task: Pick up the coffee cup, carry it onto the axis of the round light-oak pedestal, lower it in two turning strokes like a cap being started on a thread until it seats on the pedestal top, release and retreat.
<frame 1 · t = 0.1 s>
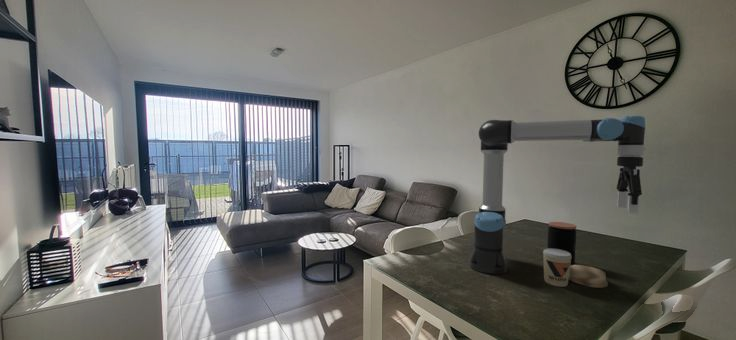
hand: (626, 210, 115), 28 cm above the table, fingers open, 13 cm apart
coffee jar: (560, 263, 133), on the table
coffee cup: (555, 282, 113), on the table
pedestal: (586, 280, 115), on the table
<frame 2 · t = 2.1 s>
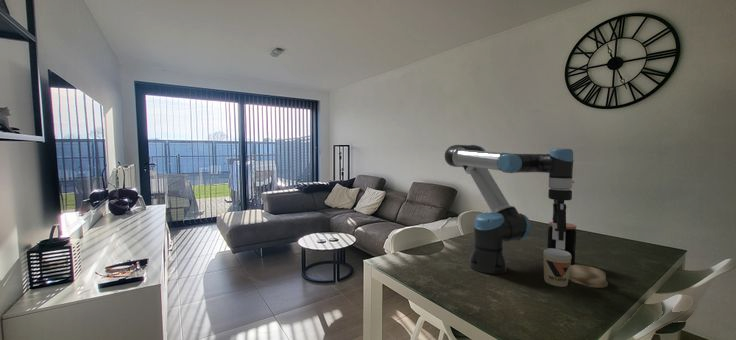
hand: (558, 243, 112), 15 cm above the table, fingers open, 13 cm apart
nothing on the table moved.
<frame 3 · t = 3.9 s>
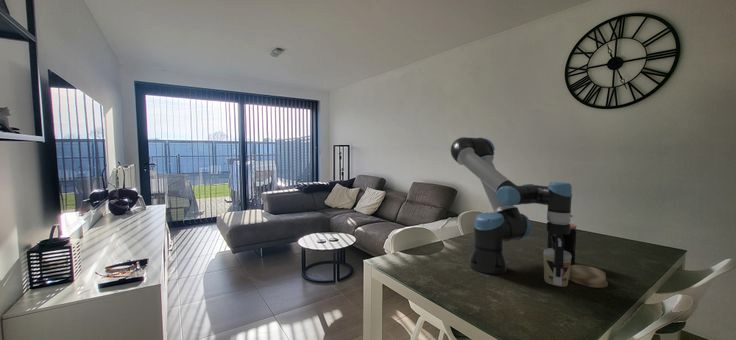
hand: (556, 279, 113), 1 cm above the table, fingers closed on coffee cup, 9 cm apart
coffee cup: (555, 282, 113), on the table, touching gripper
everything else where it was.
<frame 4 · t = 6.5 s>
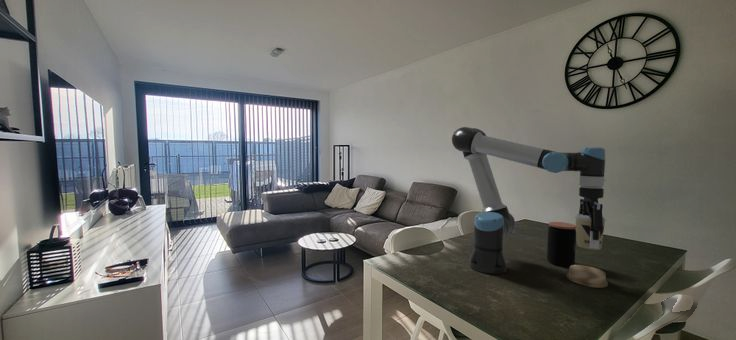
hand: (588, 244, 114), 14 cm above the table, fingers closed on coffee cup, 9 cm apart
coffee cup: (588, 247, 114), point 13 cm above the table, touching gripper
everything else where it was.
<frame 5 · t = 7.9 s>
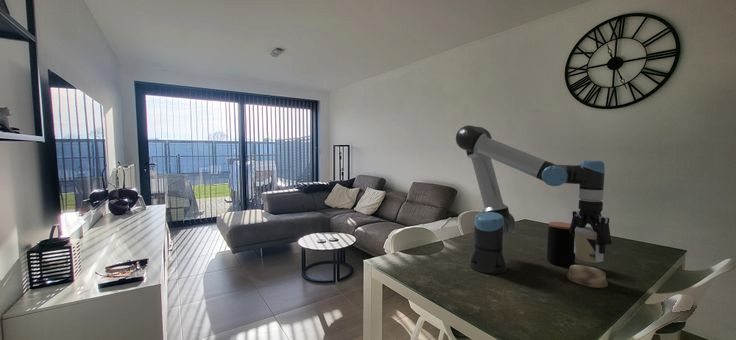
hand: (587, 256, 114), 9 cm above the table, fingers closed on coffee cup, 9 cm apart
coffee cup: (587, 259, 114), point 8 cm above the table, touching gripper
everything else where it was.
when the fingers open (5 cm above the table, at t = 9.2 s): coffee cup stays where it is, resting on pedestal.
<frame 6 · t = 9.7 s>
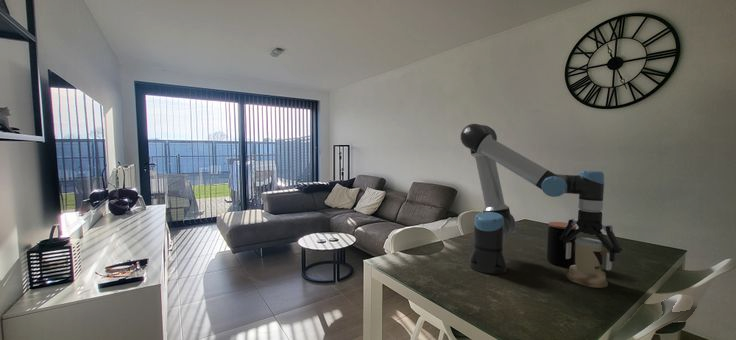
hand: (587, 263, 115), 7 cm above the table, fingers open, 13 cm apart
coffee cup: (588, 271, 114), point 4 cm above the table, touching pedestal
everything else where it was.
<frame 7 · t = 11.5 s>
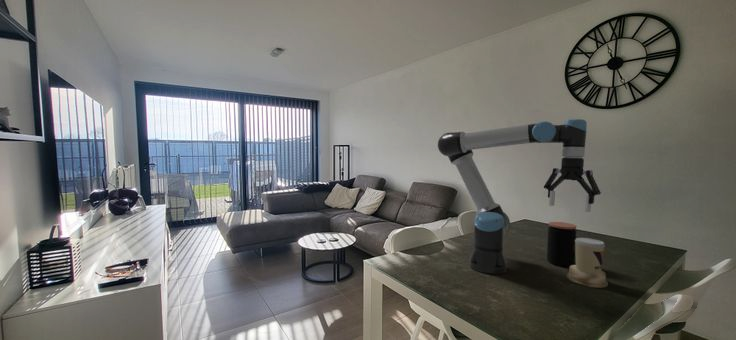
hand: (568, 208, 121), 27 cm above the table, fingers open, 13 cm apart
nothing on the table moved.
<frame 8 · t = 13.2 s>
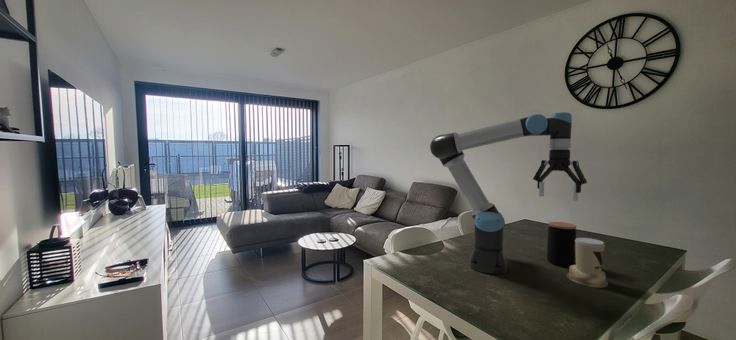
hand: (557, 198, 126), 31 cm above the table, fingers open, 13 cm apart
nothing on the table moved.
at the end: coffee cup 0.4 cm off-centre on the pedestal, point 3.8 cm above the pedestal's base; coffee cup tilted 0°; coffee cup touching pedestal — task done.
